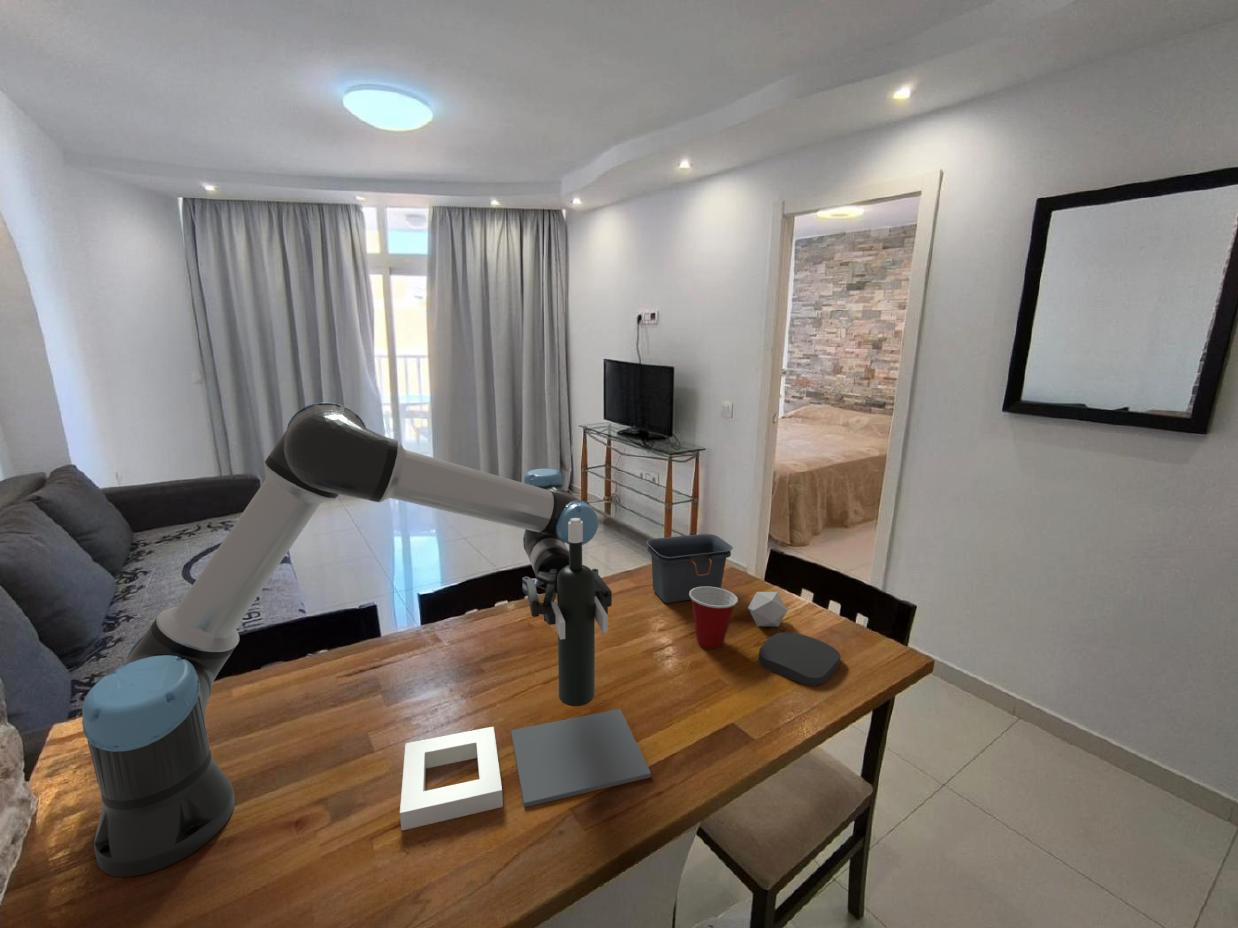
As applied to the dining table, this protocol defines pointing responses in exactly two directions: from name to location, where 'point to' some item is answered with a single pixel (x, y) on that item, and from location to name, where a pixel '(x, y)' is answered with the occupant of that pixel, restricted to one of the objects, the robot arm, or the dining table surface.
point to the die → (767, 609)
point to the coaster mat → (576, 756)
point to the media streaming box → (799, 658)
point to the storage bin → (687, 564)
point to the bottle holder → (454, 798)
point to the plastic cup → (711, 614)
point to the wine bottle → (576, 624)
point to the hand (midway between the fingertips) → (584, 627)
